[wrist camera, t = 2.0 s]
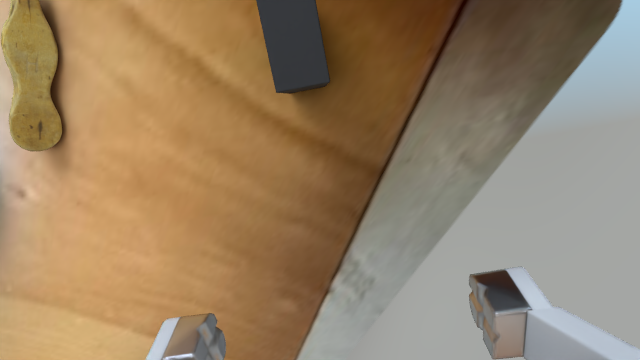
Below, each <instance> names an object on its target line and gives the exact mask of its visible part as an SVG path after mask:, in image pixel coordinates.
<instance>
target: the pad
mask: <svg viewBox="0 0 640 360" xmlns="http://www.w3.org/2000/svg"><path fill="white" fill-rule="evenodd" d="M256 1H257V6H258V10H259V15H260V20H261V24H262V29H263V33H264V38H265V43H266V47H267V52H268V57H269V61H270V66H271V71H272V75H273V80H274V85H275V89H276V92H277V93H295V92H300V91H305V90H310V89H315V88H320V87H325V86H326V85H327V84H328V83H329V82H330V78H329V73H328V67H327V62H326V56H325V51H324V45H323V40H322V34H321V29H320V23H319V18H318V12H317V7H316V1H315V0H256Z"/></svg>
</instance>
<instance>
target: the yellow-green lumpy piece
mask: <svg viewBox="0 0 640 360" xmlns="http://www.w3.org/2000/svg"><path fill="white" fill-rule="evenodd" d="M1 46H2V49H3V54H4V57H5V61H6V63H7V65H8V67H9V69H10V72H11V75H12V79H13V84H14V93H13V98H12V106H11V109H10V114H9V125H10V133H11V136H12V138H13V140H14V142H15V143H16V144H17V145H19V146H20V147H21V148H23V149H25V150H29V151H44V150H47V149H49V148H51V147H52V146H54V145H55V144H56V143H57V142H58V141H59V140H60V138H61V135H62V124H61V119H60V116H59V114H58V112H57V110H56V108H55V106H54V104H53V102H52V100H51V96H50V87H51V83H52V80H53V77H54V75H55V71H56V68H57V63H58V48H57V44H56V41H55V37H54V35H53V33H52V31H51V28H50V26H49V24H48V23H47V21H46V19H45V17H44V14H43V12H42V9H41V6H40V3H39V0H11V5H10V12H9V18H8V20H6V22H5V24H4V26H3V31H2V34H1Z"/></svg>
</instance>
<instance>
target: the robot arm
mask: <svg viewBox="0 0 640 360" xmlns="http://www.w3.org/2000/svg"><path fill="white" fill-rule="evenodd" d="M469 285H470V287H471V289H472V292H471V294H470V295H469V301H470V308H471V312H472V315H473V318H474V321H475V323H476V325H477V327H478V328H480V329H481V330H483V340H484V342H485V344H486V346H487V349H488V351H489V353H490V355H491V357H492V359H503V358H513V357H524V358H525V359H526V360H640V349H638V348H636V347H634V346H633V345H631V344H629V343H627V342H625V341H623V340H621V339H619V338H617V337H616V336H613V335H611V334H610V333H608V332H606V331H604V330H602V329H600V328H598V327H596V326H595V325H593V324H591V323H589V322H587V321H585V320H583V319H581V318H579V317H577V316H575V315H574V314H572V313H570V312H568V311H566V310H564V309H562V308H560V307H553V306H552V305H551V303H550V302H549V301H548V299H547V298H546V297H545V295H544V294H543V293H542V291H541V290H540V289H539V287H538V286H537V284H536V283H535V282H534V280H533V279H532V278H531V276H530V275H529V274H528V272H527V271H526V270H525V268H523V267H515V268H508V269H504V270H496V271H490V272H483V273H477V274H471V275H470V276H469ZM216 324H217V319H216V317H215V315H214V314H212V313H208V314H199V315H191V316H183V317H177V318H169V319H167V320H165V321H164V322H163V324H162V326H161V328H160V330H159V333H158V335H157V337H156V339H155V341H154V343H153V345H152V347H151V349H150V351H149V353H148V356H147V358H146V360H224V357H225V352H226V342H225V337H224V334H223V332H222V330H220V329H219V328H217V327H216Z"/></svg>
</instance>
